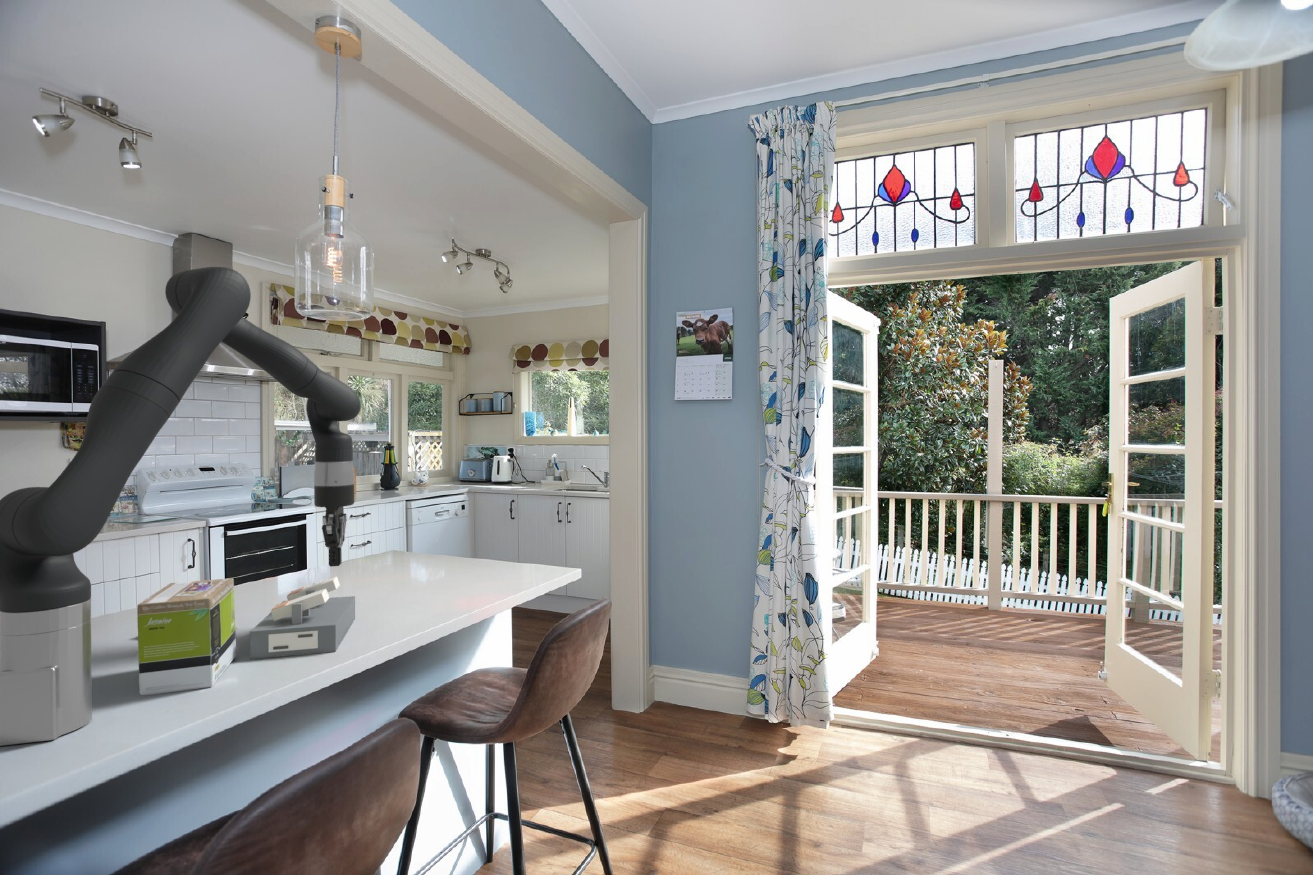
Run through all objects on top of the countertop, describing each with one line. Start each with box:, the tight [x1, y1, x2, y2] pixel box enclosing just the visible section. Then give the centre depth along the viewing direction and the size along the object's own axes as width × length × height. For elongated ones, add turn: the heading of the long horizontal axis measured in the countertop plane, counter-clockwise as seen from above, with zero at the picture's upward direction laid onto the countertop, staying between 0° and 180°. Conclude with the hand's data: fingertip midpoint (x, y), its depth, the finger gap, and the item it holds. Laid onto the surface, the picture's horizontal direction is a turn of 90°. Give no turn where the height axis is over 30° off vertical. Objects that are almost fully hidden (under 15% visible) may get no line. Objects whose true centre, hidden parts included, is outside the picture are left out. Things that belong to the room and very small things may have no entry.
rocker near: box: [270, 588, 330, 621], centre depth 123 cm, size 5×9×2 cm, turn 107°
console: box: [249, 582, 356, 660], centre depth 128 cm, size 22×14×9 cm, turn 17°
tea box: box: [136, 577, 237, 697], centre depth 108 cm, size 15×10×15 cm, turn 21°
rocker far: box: [286, 575, 341, 601], centre depth 133 cm, size 5×9×2 cm, turn 107°
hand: (335, 565), depth 134 cm, fingers closed
